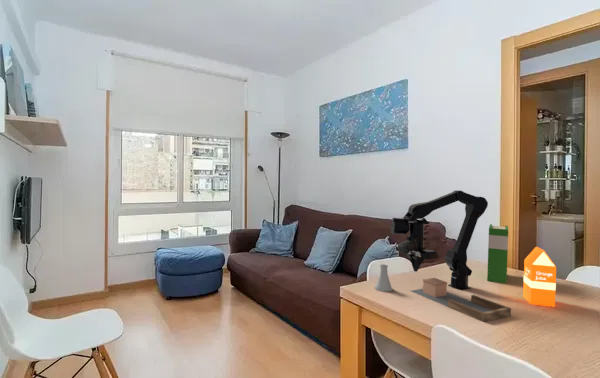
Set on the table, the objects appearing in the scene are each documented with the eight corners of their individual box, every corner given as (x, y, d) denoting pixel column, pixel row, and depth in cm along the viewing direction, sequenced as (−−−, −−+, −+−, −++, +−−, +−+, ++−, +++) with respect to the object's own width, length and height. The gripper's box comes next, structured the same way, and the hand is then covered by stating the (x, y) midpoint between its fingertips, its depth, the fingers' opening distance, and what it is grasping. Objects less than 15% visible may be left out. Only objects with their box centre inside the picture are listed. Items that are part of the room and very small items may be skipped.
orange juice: (546, 299, 127) (548, 247, 127) (555, 307, 119) (557, 251, 118) (522, 296, 130) (524, 245, 129) (529, 304, 121) (531, 249, 121)
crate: (434, 290, 134) (434, 277, 134) (446, 295, 128) (447, 282, 128) (422, 292, 131) (423, 279, 131) (435, 297, 126) (435, 284, 125)
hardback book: (488, 272, 165) (489, 224, 164) (505, 274, 161) (507, 225, 161) (487, 281, 150) (488, 228, 149) (506, 283, 146) (508, 229, 146)
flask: (393, 293, 130) (393, 268, 130) (374, 291, 132) (374, 266, 132) (391, 287, 138) (392, 263, 137) (373, 286, 139) (374, 262, 139)
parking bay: (473, 301, 122) (473, 294, 122) (510, 315, 109) (511, 308, 109) (447, 306, 116) (447, 299, 116) (484, 322, 104) (484, 314, 104)
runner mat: (433, 287, 138) (433, 286, 138) (510, 316, 109) (510, 315, 109) (409, 291, 133) (409, 290, 133) (483, 322, 104) (483, 321, 104)
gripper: (386, 232, 144) (385, 267, 144) (418, 239, 127) (417, 279, 127) (406, 230, 149) (405, 265, 149) (439, 237, 132) (438, 276, 132)
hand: (415, 271), depth 139 cm, fingers closed
